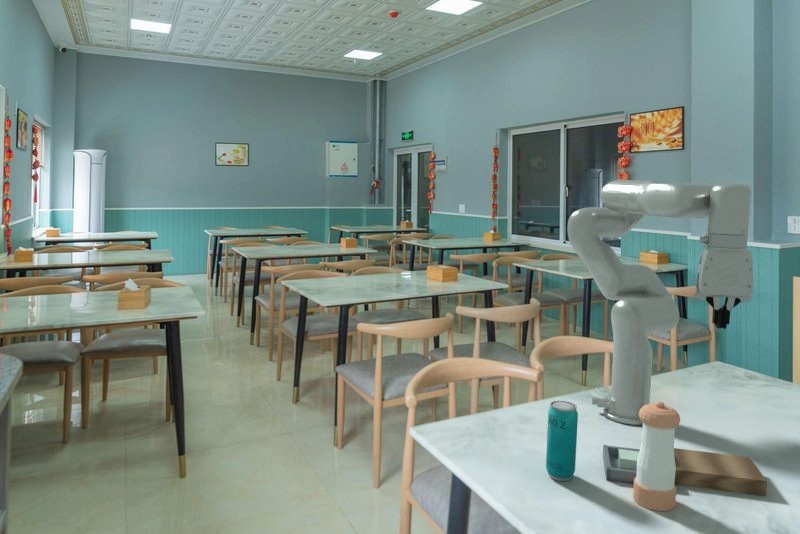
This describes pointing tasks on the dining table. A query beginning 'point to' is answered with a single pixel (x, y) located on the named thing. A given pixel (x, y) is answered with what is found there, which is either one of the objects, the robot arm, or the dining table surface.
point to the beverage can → (561, 440)
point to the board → (718, 472)
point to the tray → (617, 466)
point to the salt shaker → (656, 458)
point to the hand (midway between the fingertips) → (720, 327)
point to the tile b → (628, 459)
